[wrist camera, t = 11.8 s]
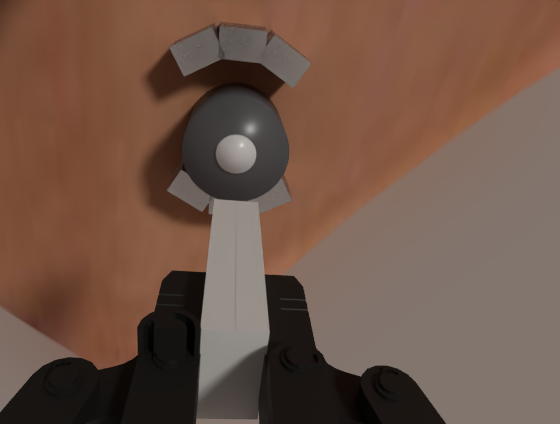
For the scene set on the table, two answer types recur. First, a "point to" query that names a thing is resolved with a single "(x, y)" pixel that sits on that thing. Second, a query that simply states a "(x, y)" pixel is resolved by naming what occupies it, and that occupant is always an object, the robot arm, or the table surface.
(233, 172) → the cap
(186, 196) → the grey segmented ring
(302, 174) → the table surface
